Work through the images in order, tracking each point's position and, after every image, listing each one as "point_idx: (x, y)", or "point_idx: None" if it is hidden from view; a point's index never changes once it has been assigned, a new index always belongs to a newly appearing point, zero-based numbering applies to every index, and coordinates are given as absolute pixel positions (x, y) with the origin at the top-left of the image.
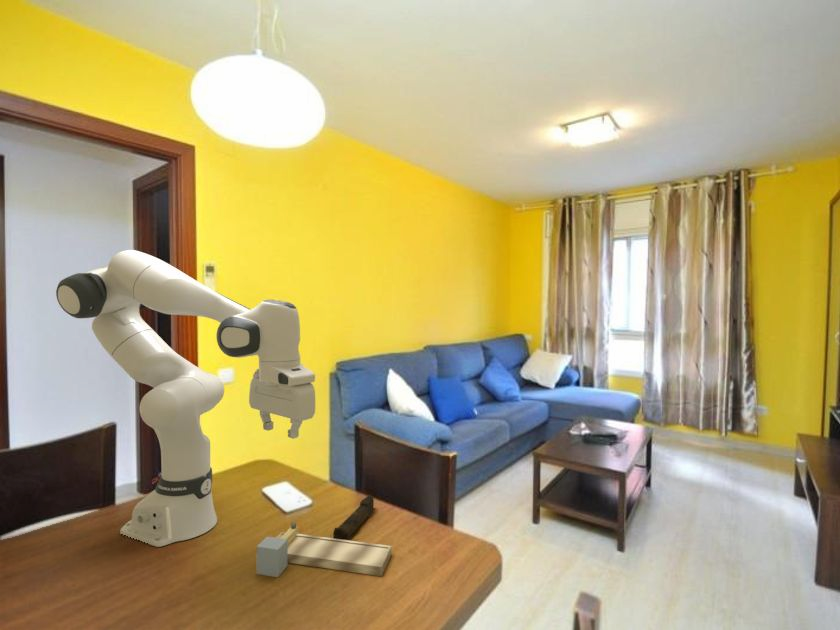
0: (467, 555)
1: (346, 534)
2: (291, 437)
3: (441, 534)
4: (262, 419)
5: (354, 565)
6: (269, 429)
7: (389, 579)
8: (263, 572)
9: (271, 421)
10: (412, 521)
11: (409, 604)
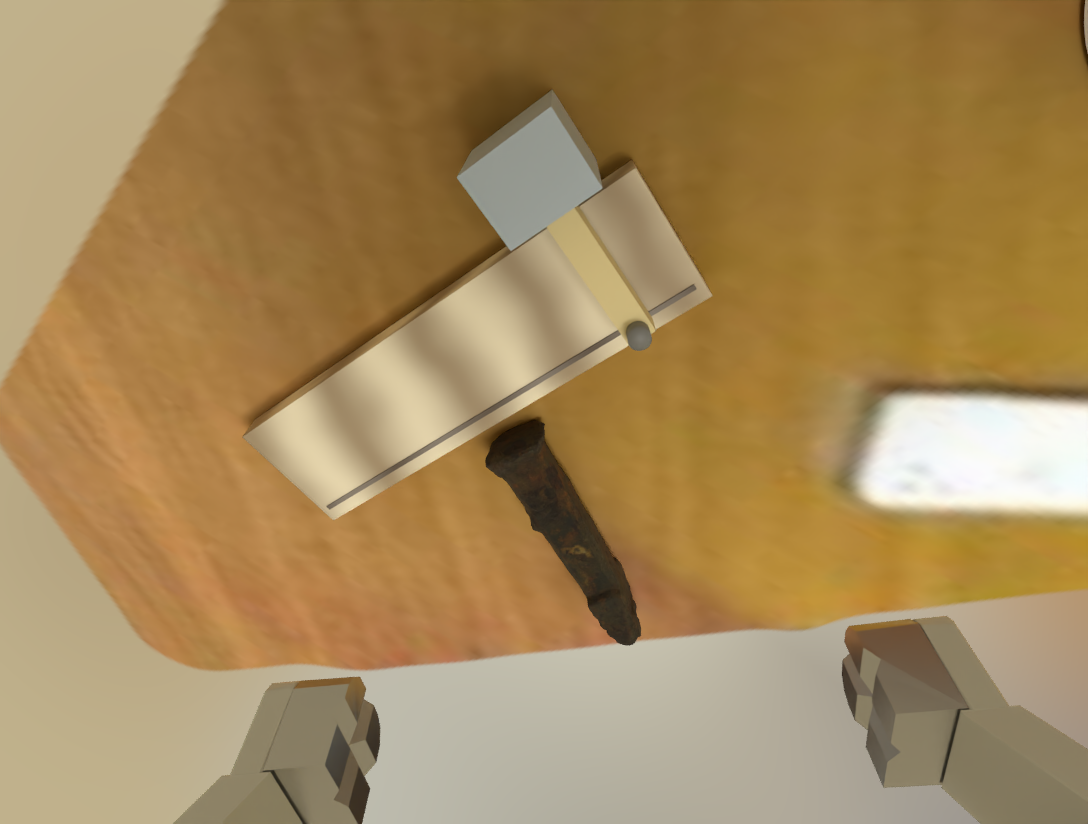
0: (212, 626)
1: (488, 459)
2: (274, 688)
3: (345, 645)
4: (1048, 749)
5: (315, 383)
6: (854, 655)
7: (227, 427)
8: (525, 111)
9: (923, 780)
10: (464, 637)
11: (89, 401)
